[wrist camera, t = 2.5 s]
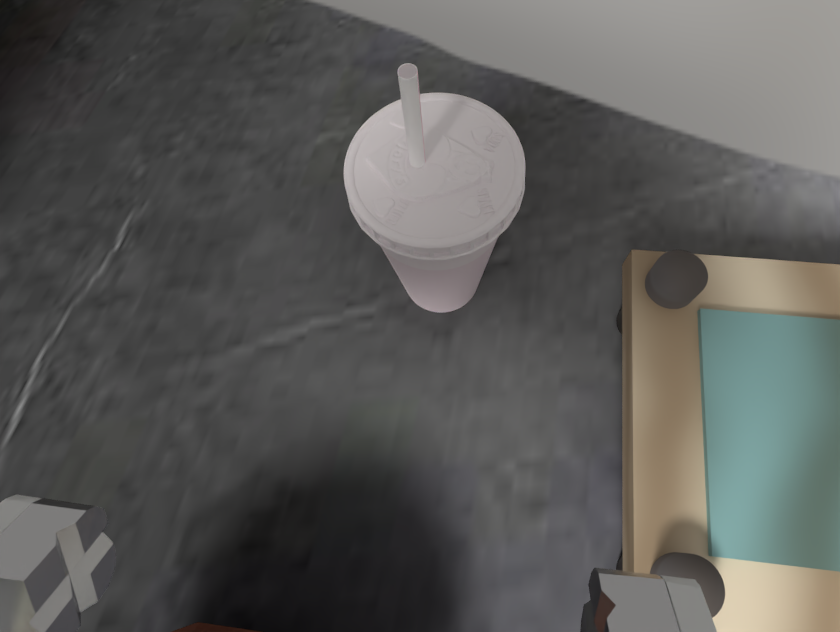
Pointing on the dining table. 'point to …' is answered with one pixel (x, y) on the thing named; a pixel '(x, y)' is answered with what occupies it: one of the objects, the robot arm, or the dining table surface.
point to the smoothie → (435, 189)
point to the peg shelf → (734, 434)
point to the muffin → (211, 628)
